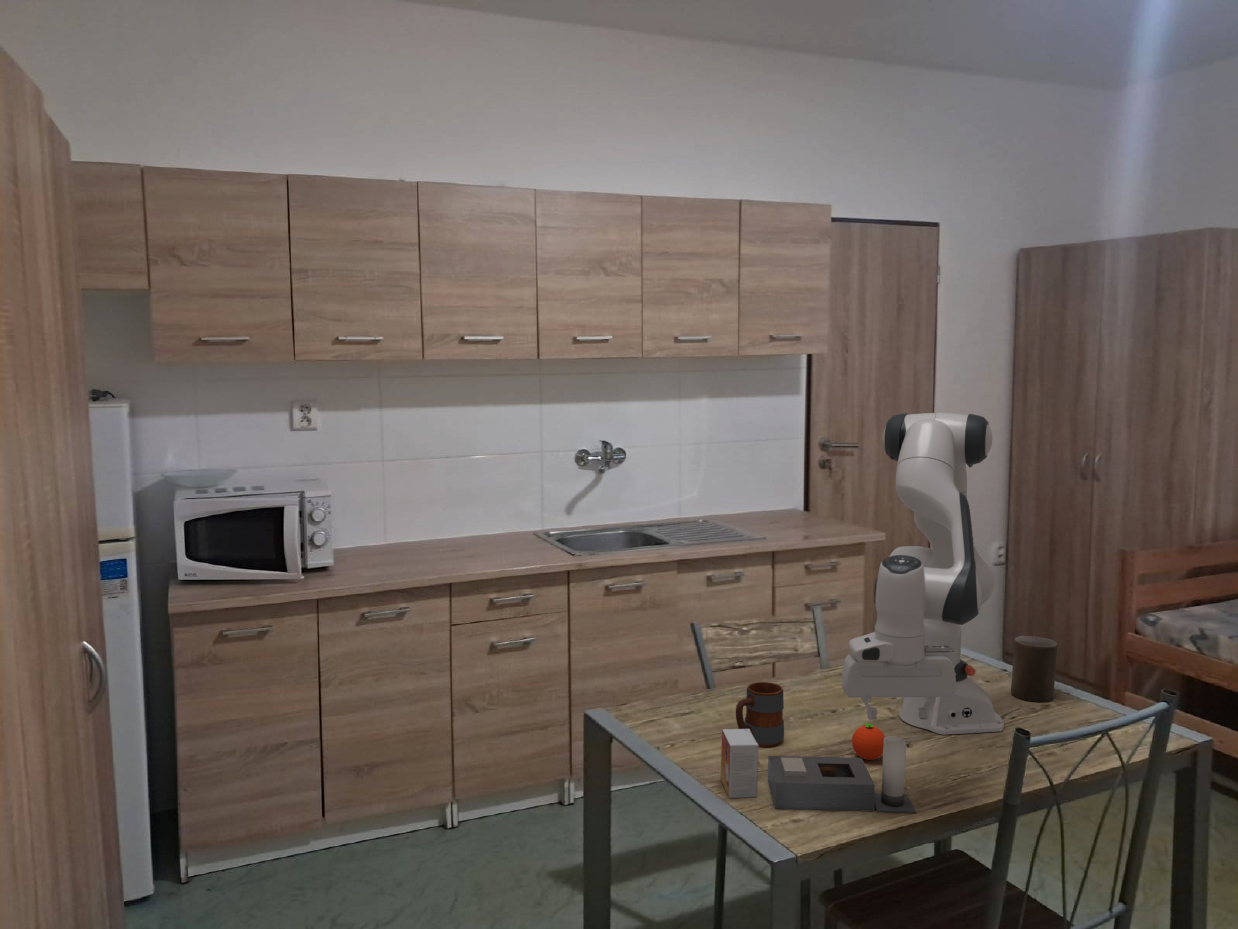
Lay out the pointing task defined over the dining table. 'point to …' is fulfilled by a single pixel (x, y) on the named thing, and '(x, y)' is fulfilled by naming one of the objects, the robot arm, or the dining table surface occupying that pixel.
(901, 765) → the white cylinder
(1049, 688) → the pillar candle
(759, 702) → the mug
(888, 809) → the mat
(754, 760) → the small box
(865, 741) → the clementine
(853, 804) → the panel
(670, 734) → the dining table surface
